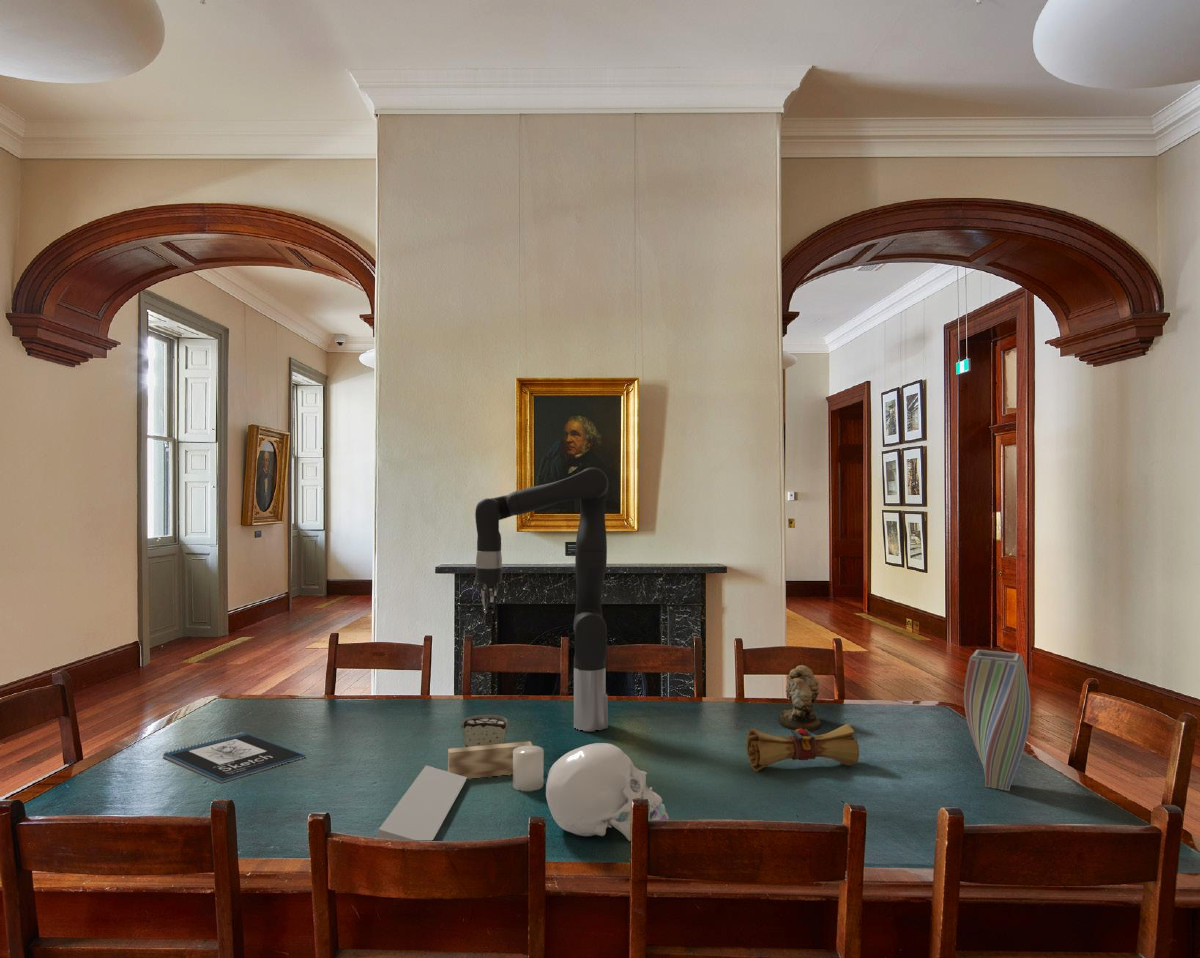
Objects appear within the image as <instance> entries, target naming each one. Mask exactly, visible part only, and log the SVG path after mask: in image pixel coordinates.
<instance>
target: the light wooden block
mask: <svg viewBox="0 0 1200 958" xmlns="http://www.w3.org/2000/svg"><path fill="white" fill-rule="evenodd" d="M520 746H534V745H533V743H532V742H531V741H530V740H529V741H519V742H509V743H508V742H507V743H506V742H505V744H495V745H484V746H473V747H465V746H463V747H452V748H451V747H450V748H448V749H447V772H450V773H454V774H457V775H461V776H464V777H467V779H469V780H472V779H471V778H479V777H488V778H493V777H492V776H498V777H502V776H501V775H508V776H512V775H511V774H513V750H514V749H515V748H517V747H520ZM479 779H480V778H479Z"/></svg>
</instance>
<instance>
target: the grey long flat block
mask: <svg viewBox="0 0 1200 958" xmlns="http://www.w3.org/2000/svg"><path fill="white" fill-rule="evenodd" d="M466 779H467V777H464V776H461V775H457V774H454V773H450V772H448V770H443V769H439V768H437V767H433V766H430V765H427V764H426V765H425V766H424V768H423V769H422V770H421V771H420V773H419V774H418V775H417V777H416V778H415V780H414V781H413V782H412V784H411V785H410V786H409V788H408V789H407V791H406V792H405V793H404V794H403V795H402V797H401V798H400V800H399V801H398V803H397V804H396V805H395V806H394V808H393V809H392V810H391V812H390V814H388V816H387V817H386V818H385V820H384V821H383V823H382V824H381V825H380V826H379V828H378V831H377V835H376V837H380V838H392V839H403V840H433V841H434V839H435V837H436V835H437V834H438V832H439V830H440V829H441V826H442V824H443V823H444V821H445V819H446V818H447V816H448V814H449V812H450V811H451V808H452V807H453V805H454V803H455V801H456V799H457V798H458V795H459V794H460V792H461V790H462V788H463V787H464V785H465V783H466V781H467V780H466Z"/></svg>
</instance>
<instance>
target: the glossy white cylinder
mask: <svg viewBox="0 0 1200 958" xmlns="http://www.w3.org/2000/svg"><path fill="white" fill-rule="evenodd" d="M544 752H545V751H544V748H543V747H541V746H538V745H533V746H520V747H517V748H515V749H514V750H513V775H512V788H513V789H514V788H515V790H516V791H519V790H521V791H520V792H535V791H538V790H540V789H542V788H543V787H544V758H545V757H544ZM534 790H535V791H534Z"/></svg>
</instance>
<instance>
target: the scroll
mask: <svg viewBox="0 0 1200 958" xmlns="http://www.w3.org/2000/svg"><path fill="white" fill-rule="evenodd" d="M790 733H791V734H792V735H788V737H786V736H785V737H784V736H776V735H771V734H768V733H764V732H761V731H759V730H757V729H755V728H754V727H753V728H750V729H749V730H748V733H747V735H746V753H747V756H748V761H749V763H750V767H751V768H752V769H753V770H754V772H756V773H757V772H759V771H760V770H762V769H764V768H765V767H768V766H770V765H772V764H775V763H778V762H781V761H785V760H789V759H791V760H793V761H796V760H798V761H809V760H815V759H816V758H826V759H832V760H834V761H836V762H839V763H841V764H843V765H845V766H849V767H851V766H852V765H854V764H857V763H858V762H859V759H860V748H859V747H860V746H859V743H858V740H857V739H856V738H855V737H854V735H855V731H854V729H853V728H852V727H851V725H850V724H849V723H846V724H844V725H841V726H840V727H837V728H836V729H834V730H831V731H829V732H827V733H823V734H819V735H813V733H811V731H808V730H807V729H805V730H803V729H801V728H799V729H797V730H792V729H790Z"/></svg>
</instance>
